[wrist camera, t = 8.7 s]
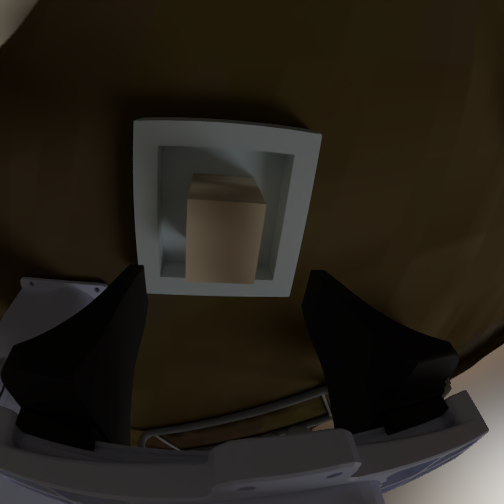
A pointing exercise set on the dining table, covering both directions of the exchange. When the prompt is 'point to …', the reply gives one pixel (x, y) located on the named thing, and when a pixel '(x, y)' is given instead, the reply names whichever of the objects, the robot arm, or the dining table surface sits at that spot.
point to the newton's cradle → (243, 415)
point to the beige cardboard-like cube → (223, 229)
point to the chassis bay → (220, 163)
